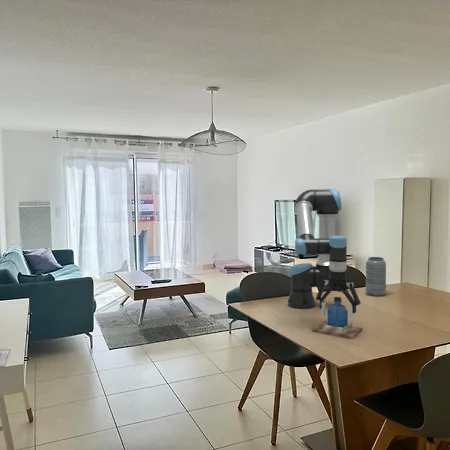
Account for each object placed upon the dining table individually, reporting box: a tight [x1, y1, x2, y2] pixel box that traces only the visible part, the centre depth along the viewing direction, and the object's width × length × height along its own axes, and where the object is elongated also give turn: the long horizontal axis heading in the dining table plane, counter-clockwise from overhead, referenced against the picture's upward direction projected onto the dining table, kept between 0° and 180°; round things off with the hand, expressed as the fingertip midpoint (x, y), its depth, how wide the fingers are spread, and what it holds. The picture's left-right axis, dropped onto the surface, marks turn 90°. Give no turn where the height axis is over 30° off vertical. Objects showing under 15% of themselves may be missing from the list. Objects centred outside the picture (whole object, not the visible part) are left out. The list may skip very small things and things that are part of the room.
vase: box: [365, 256, 387, 297], centre depth 256 cm, size 12×12×23 cm
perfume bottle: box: [327, 296, 349, 327], centre depth 186 cm, size 6×6×12 cm
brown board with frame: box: [311, 320, 363, 340], centre depth 187 cm, size 18×14×3 cm
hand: (337, 317), depth 187 cm, fingers open, 12 cm apart
